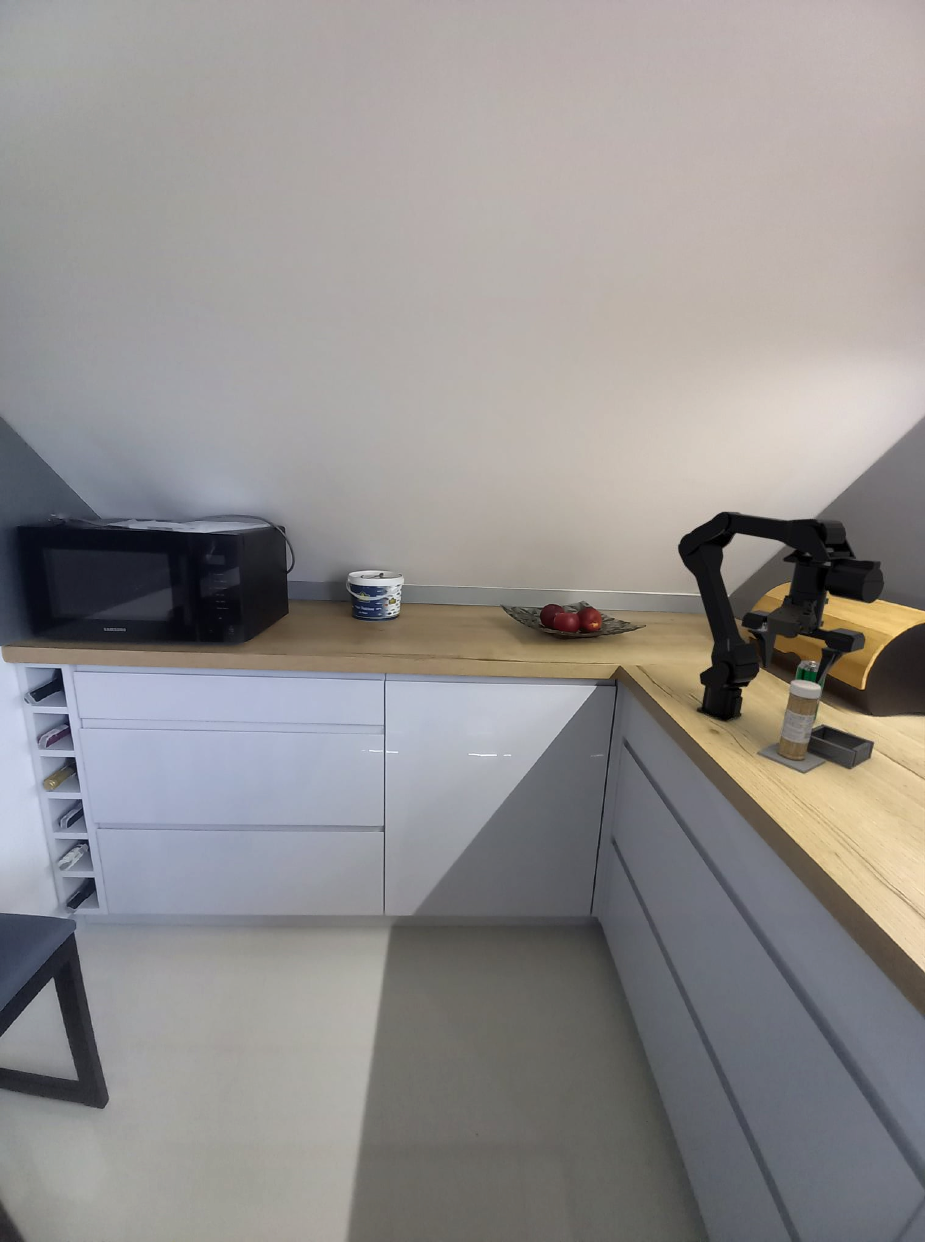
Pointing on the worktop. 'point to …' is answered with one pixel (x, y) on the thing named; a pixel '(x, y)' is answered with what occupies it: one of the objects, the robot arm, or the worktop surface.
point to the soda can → (809, 676)
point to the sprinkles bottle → (798, 719)
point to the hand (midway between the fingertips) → (790, 675)
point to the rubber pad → (798, 765)
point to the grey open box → (839, 746)
